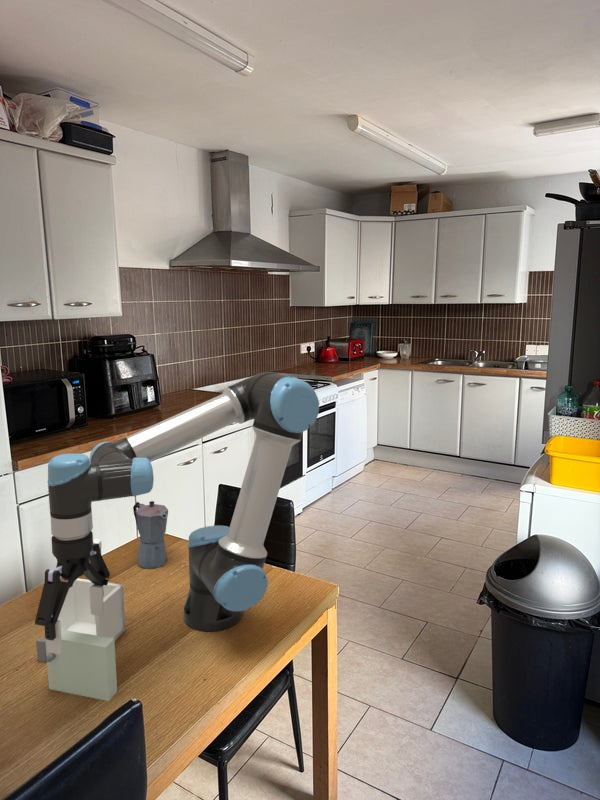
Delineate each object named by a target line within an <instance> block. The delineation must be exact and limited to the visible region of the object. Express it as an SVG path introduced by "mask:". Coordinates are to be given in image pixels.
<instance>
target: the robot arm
mask: <svg viewBox="0 0 600 800" xmlns="http://www.w3.org/2000/svg"><path fill="white" fill-rule="evenodd" d="M319 401H320V400H319V397H318V394H317V393H316V391H315V389H314V387H312V385H311V384H309V383H308V382H306V381H304V380H302V379H299V378H298V377H296V376H295V377H293V376H288V375H284V374H280V373H277V372H273V371H266V372H260V373H257V374H255V375H252V376H249V377H247V378H245V379H243V380H241V381H238V382H236V383H233V384H231V385H228V386H227V387H225V388H224V389H223V391H222V393H221V394H220V395H218V396H217V395H216V396H214V397H212V398H211V399H209V400H206V401H204V402H202V403H199V404H196V405H195V406H193V407H191V408H187V409H186V410H184V411H181V412H179V413H177V414H175V415H172V416H170V417H168V418H166V419H164V420H162V421H159V422H157V423H155V424H153V425H150V426H148V427H146V428H144V429H142V430H139V431H137V432H135V433H132V434H131V435H128V436H126V437H123V438H121V439H118V440H116V441H114V442H113V441H102V442H100V443H98V444H96V445H95V446H94V447H93V448H92V449H91V452H90V455H89V456H88V455H86V454H84V453H63V454H59V455H56V456H53V457H52V458H51V459H50V460H49V461H48V463H47V464H48V465H47V489H48V503H49V514H50V531H51V535H52V536H51V539H50V540H51V552H52V555H53V557H55V558H56V565H55V568H52V569H50V568H47V569H45V572H44V583H43V588H42V591H41V595H40V599H39V603H38V608H37V613H36V616H35V620H34V624H35V625H36V626H41V627H44V639H45V638H46V639H47V652H50V653H55V654H61V653H62V638H61V621H59V620H58V617H59V614H60V612H61V609H62V606H63V604H64V601H65V598H66V595H67V593H68V590H69V588H71V587H72V586H73V583H74V581H75V580H77V578H79V577H82V576H84V577H85V578H86V579H87V578H88V579H89V580H90V581H91V582H92V583H94V585H90V586H89V587H90V608H91V614H92V615H97V616H103V615H104V603H103V596H104V591H103V585H107V584H108V583H109V577H110V576H111V575H110V574H111V573H110V571H109V568H108V567H107V564H106V561H105V560H104V558H103V556H102V552H101V553H100V548H99V544H96V543H93V538H94V533H93V527H94V526H93V511H92V503H94V502H100V501H107V500H115V499H121V498H122V499H123V498H130V497H136V496H141V495H146V494H149V493H150V492H152V490H153V487H154V481H155V480H154V477H155V476H154V471H153V470H154V468H153V465H152V462H153V461H156V460H158V459H160V458H162V457H165V456H166V455H169V454H171V453H173V452H175V451H177V450H179V449H181V448H184V447H186V446H187V445H191V444H192V443H194V442H197V441H198V440H200V439H202V438H204V437H207V436H209V435H210V434H211V435H212V434H214V433H216V432H217V431H219V430H221V429H224V428H226V427H229V426H230V425H232V424H234V423H237V424H240V425H241V424H242V425H243V424H244V423H246V422H249V421H252V420H253V423H252V425H251V426H252V430H253V431H254V433H255V440H254V443H253V446H252V449H251V453H250V457H249V459H248V464H247V467H246V470H245V474H244V477H243V481H242V483H241V487H240V491H239V495H238V497H237V500H236V503H235V508H234V512H233V515H232V518H231V522H230V525H229V526H227V525H209V526H203V527H199V528H197V529H195V530H194V531H192V532H191V533H190V534H189V536H188V544H187V548H188V567H189V568H188V569H189V570H188V573H189V589H188V593H187V595H186V599H185V602H184V606H183V620H184V623H185V624H186V625H187V626H188V627H190V628H192V629H194V630H197V631H201V632H217V631H221V630H225V629H228V628H231V627H232V626H233V627H234V625H236V624H238V623H239V622H240V621H241V619H242V618H243V615H244V611H246V610H249V609H251V608H252V607H253V606H254V605H257V604H258V603H259V602H260V601H261V600H262V599H263V597H264V595H265V594H266V593H267V589H268V583H269V582H268V581H269V580H268V576H267V573H266V571H265V570H264V566H265V563H266V561H267V556H268V551H267V550H266V548H265V546H264V543H265V539H266V536H267V533H268V529H269V526H270V523H271V519H272V516H273V512H274V509H275V505H276V502H277V498H278V497H279V496H278V495H279V491H280V488H281V485H282V481H283V478H284V475H285V471H286V468H287V465H288V463H289V462H288V461H289V458H290V454H291V451H292V448H293V446H294V445H296V444H297V443H299V442H301V440H302V437H303V434H304V432H306V431H307V430H309V428H311V427H312V426H313V425H314V424H315V423H316V420H317V419H318V416H319V412H320V402H319ZM89 561H90V562H89ZM62 580H64V581H62ZM67 581H68V582H67ZM52 615H53V617H52Z"/></svg>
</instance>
